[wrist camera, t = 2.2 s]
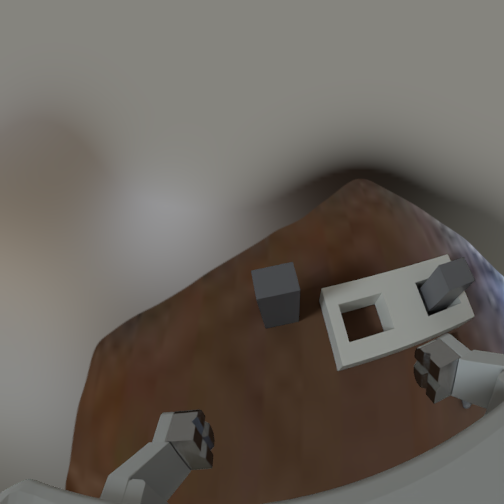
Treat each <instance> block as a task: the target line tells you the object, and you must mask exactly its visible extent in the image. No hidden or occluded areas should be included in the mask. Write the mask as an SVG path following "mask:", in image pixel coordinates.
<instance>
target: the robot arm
mask: <svg viewBox="0 0 504 504" xmlns="http://www.w3.org/2000/svg"><path fill="white" fill-rule="evenodd" d="M415 358H416V359H417V362H416V364H415V365H414V376H415V380H416V382H417V383H418V385H419V386H420V387H422V388H425V389H426V395H427V396H428V397H429V398H430V400H431V401H432V402H433V403H434V404H435V403H436V402H438V401H440V400H442V399H444V398H446V397H448V396H450V395H451V396H454V397H456V398H459V399H462V400H464V401H467V402H470V403H472V404H475V405H478V406H480V407H483V408H486V409H487V410H486V413H485V415H484V417H482V418H481V419H479V420H478V421H477V422H475V423H474V424H472V425H471V426H469V427H468V428H466V429H465V430H463V431H461V432H460V433H458V434H457V435H455V436H453V437H452V438H450V439H448V440H447V441H445V442H443V443H441V444H440V445H438V446H436V447H434V448H432V449H431V450H429V451H427V452H425V453H423V454H421V455H419V456H417V457H415V458H413V459H411V460H409V461H407V462H404V463H402V464H400V465H398V466H396V467H393V468H391V469H389V470H386V471H384V472H381V473H379V474H376V475H373V476H371V477H368V478H365V479H363V480H360V481H357V482H354V483H351V484H348V485H345V486H341V487H338V488H335V489H331V490H328V491H324V492H320V493H316V494H312V495H308V496H303V497H299V498H294V499H289V500H283V501H278V502H271V503H264V504H504V354H499V353H492V352H485V351H479V350H473V351H470V350H469V349H468V348H467V347H465V346H464V345H463V344H462V343H460V342H459V341H458V340H457V339H455V338H454V337H453V336H452V335H450V334H448V333H446V334H444V335H442V336H441V337H439V338H437V339H435V340H433V341H431V342H429V343H427V344H425V345H423V346H420V347H418V348H416V350H415ZM214 441H215V440H214V433H213V430H212V428H211V426H210V424H209V423H207V422H205V415H204V413H203V411H202V410H189V411H178V412H167V413H162V414H161V416H160V419H159V422H158V425H157V429H156V432H155V435H154V438H153V441H152V443H148V444H147V445H145V446H144V447H143V448H142V449H141V450H139V451H138V452H137V453H136V454H135V455H133V456H132V457H131V458H130V459H129V460H127V461H126V462H125V463H124V464H122V465H121V466H120V467H119V468H117V469H116V470H115V471H114V472H112V473H111V474H110V475H109V476H108V478H107V481H106V484H105V486H104V489H103V492H102V494H101V497H100V499H99V498H94V497H90V496H86V495H82V494H78V493H74V492H70V491H67V490H63V489H60V488H57V487H54V486H50V485H48V484H45V483H42V482H39V481H37V480H33V479H26V480H24V481H22V482H19V483H17V484H15V485H14V486H12V487H10V488H8V489H6V490H4V491H3V492H1V493H0V504H168V503H167V502H166V501H167V500H168V499H169V498H170V497H171V495H172V494H173V493H174V492H175V490H176V489H177V488H178V487H179V486H180V484H181V483H182V482H183V480H184V479H185V478H186V477H187V475H188V474H189V473H190V472H191V470H197V469H208V468H212V466H213V453H212V452H211V449H212V448H213V447H214Z"/></svg>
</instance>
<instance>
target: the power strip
mask: <svg viewBox="0 0 504 504" xmlns="http://www.w3.org/2000/svg"><path fill="white" fill-rule="evenodd" d="M474 281H475V279H474V277H473V275H472V273H471V271H470V269H469V267H468V264H467V262H466V260H465V258H464V257H462V258H459V259H456V260H453V261H451V260H450V258H449V256H448V254H447V255H444V256H441V257H437V258H434V259H431V260H427V261H424V262H420V263H417V264H414V265H410V266H407V267H403V268H399V269H396V270H392V271H389V272H385V273H381V274H377V275H374V276H370V277H366V278H362V279H358V280H354V281H350V282H346V283H342V284H338V285H334V286H330V287H326V288H322V289H321V293H320V298H319V302H320V306H321V309H322V313H323V316H324V320H325V324H326V327H327V331H328V335H329V339H330V343H331V346H332V350H333V354H334V358H335V362H336V366H337V370H338V371H340V370H344V369H347V368H350V367H354V366H357V365H361V364H364V363H367V362H370V361H373V360H376V359H379V358H382V357H385V356H388V355H391V354H394V353H397V352H399V351H402V350H405V349H407V348H410V347H413V346H415V345H418V344H420V343H423V342H425V341H428V340H430V339H433V338H435V337H437V336H440V335H442V334H444V333H447V332H449V331H451V330H453V329H455V328H458V327H460V326H462V325H463V324H465V323H466V322H467V321H469V320H470V319H472V318H473V317H474V313H473V311H472V308H471V306H470V303H469V301H468V298H467V296H466V293H465V290H466V289H467V288H468V287H469V286H470V285H471V284H472V283H473V282H474ZM373 304H375V306H376V309H377V312H378V315H379V318H380V321H381V324H382V327H383V330H384V332H382V333H379V334H375V335H372V336H369V337H366V338H362V339H359V340H355V341H352V342H349V340H348V336H347V332H346V329H345V326H344V322H343V319H342V315H341V313H345V312H348V311H352V310H356V309H359V308H363V307H366V306H370V305H373ZM446 307H447V309H445V308H446ZM444 309H445V310H444ZM442 310H443V311H442ZM437 312H438V313H437ZM432 314H433V315H432ZM429 315H430V316H429ZM462 403H463V407H464V408H466V409H467V408H469V407H470V406H471V404H472V403H470V402H467V401H464V400H462Z"/></svg>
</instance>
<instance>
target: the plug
mask: <svg viewBox="0 0 504 504" xmlns="http://www.w3.org/2000/svg"><path fill="white" fill-rule="evenodd" d="M251 273H252V278H253V284H254V289H255V294H256V300H257V303H258V306H259V309H260V312H261V315H262V319H263V322H264V325H265V328H271V327H275V326H280V325H285V324H289V323H294V322H298V321H299V308H300V287H299V284H298V280H297V276H296V273H295V269H294V265H293V262H290V263H285V264H281V265H276V266H271V267H267V268H262V269H257V270H253V271H251Z"/></svg>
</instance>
